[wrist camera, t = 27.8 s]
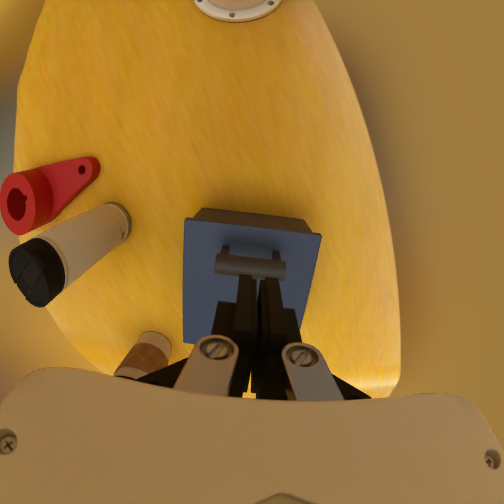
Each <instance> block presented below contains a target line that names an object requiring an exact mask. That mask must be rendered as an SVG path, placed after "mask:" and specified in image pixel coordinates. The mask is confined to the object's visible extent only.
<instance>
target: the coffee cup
mask: <svg viewBox="0 0 504 504" xmlns="http://www.w3.org/2000/svg"><path fill="white" fill-rule="evenodd" d="M170 354H171V344H170V342H169V341H168V339H167V338H166V337H164V336H163V335H161V334H159V333H157V332H152V331H150V332H145V333H143V334H142V335H141V336H140V338H139V339H138V341H137V342H136V344H135V345H134V346H133V347H132V349H131V350H130V351H129V353H128V354H127V356H126V357H125V358H124V360H123V361H122V362H121V364H120V365H119V367H118V368H117V369H116V371H115V373H114V376H115V377H120V378H124V379H129V380H133V381H134V380H136V379H138V378H139V377H142V376H144V375H147V374H149V373H152V372H154V371H157V370H159V369H162V368H164V367H167V366H168V362H169V358H170Z"/></svg>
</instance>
